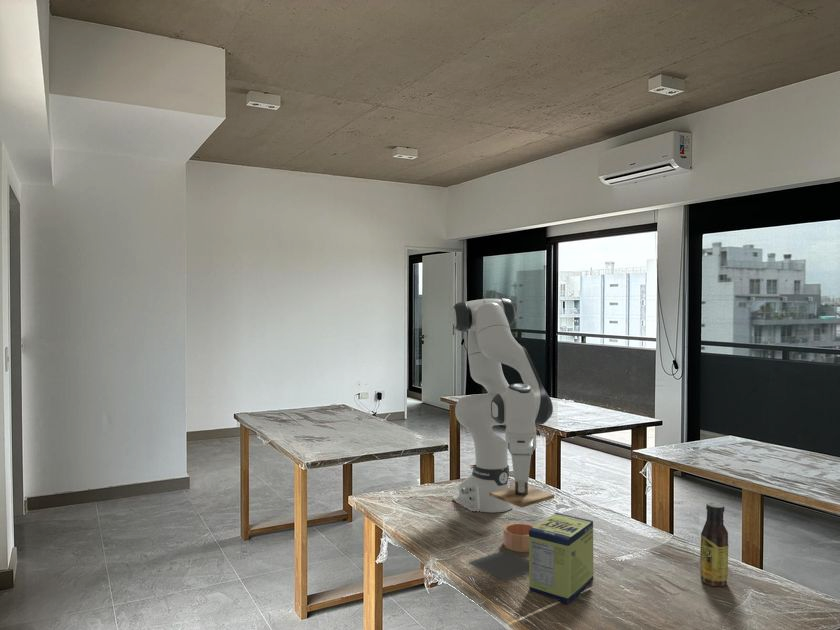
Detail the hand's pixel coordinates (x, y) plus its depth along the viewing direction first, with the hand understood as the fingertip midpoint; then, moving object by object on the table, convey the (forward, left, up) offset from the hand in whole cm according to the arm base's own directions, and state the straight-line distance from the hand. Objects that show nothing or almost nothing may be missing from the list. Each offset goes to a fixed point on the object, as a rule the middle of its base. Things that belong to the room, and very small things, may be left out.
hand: (521, 489), depth 176 cm
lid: (0, 0, -2) cm, 2 cm away
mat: (+7, -13, -17) cm, 22 cm away
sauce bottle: (+45, +22, -17) cm, 53 cm away
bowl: (0, 0, -17) cm, 17 cm away
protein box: (+23, -10, -17) cm, 31 cm away
